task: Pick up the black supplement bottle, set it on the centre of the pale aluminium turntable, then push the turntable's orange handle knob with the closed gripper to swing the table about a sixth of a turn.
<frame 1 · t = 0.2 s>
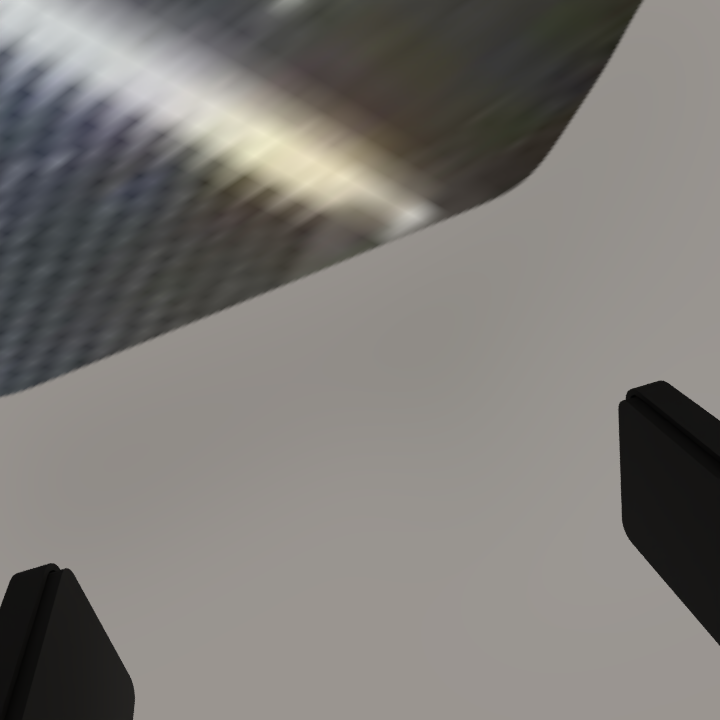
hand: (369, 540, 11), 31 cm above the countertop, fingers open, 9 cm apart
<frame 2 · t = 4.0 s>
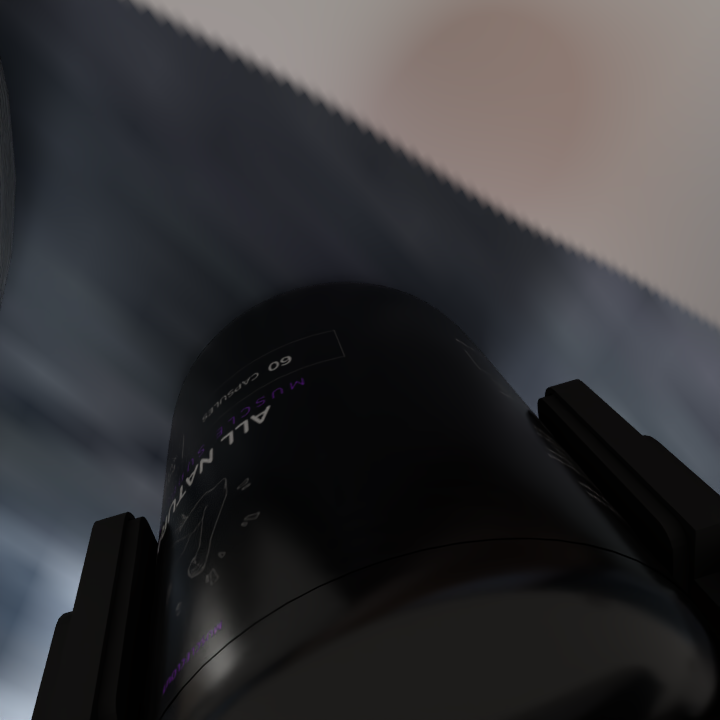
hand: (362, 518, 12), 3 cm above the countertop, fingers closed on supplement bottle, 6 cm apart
supplement bottle: (330, 419, 15), on the countertop, touching gripper
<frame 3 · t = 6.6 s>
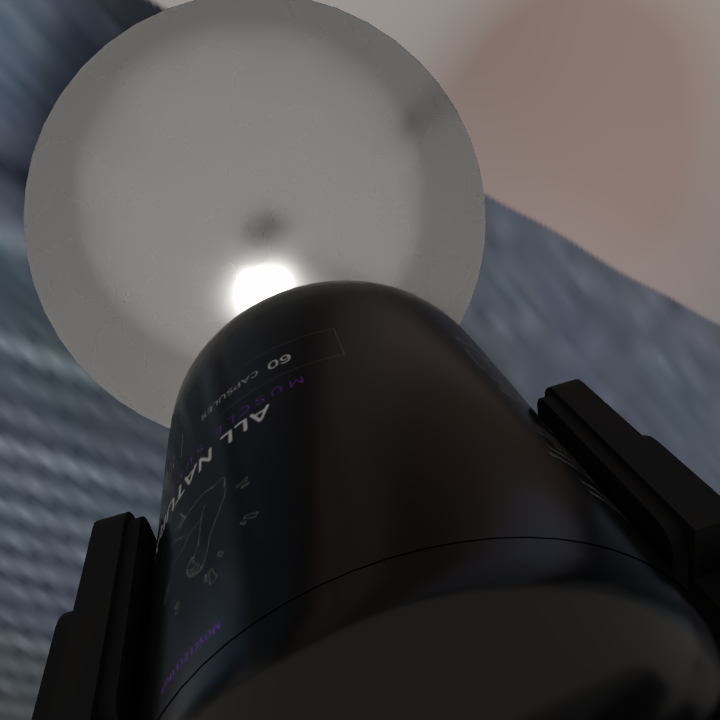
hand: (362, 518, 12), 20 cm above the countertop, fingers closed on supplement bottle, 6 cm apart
turntable: (288, 311, 25), point 5 cm above the countertop, hinge at 0.0°
supplement bottle: (330, 418, 15), point 16 cm above the countertop, touching gripper
when the fingers open (7 cm above the countertop, at t = 9.0 s): supplement bottle drops 1 cm, resting on turntable.
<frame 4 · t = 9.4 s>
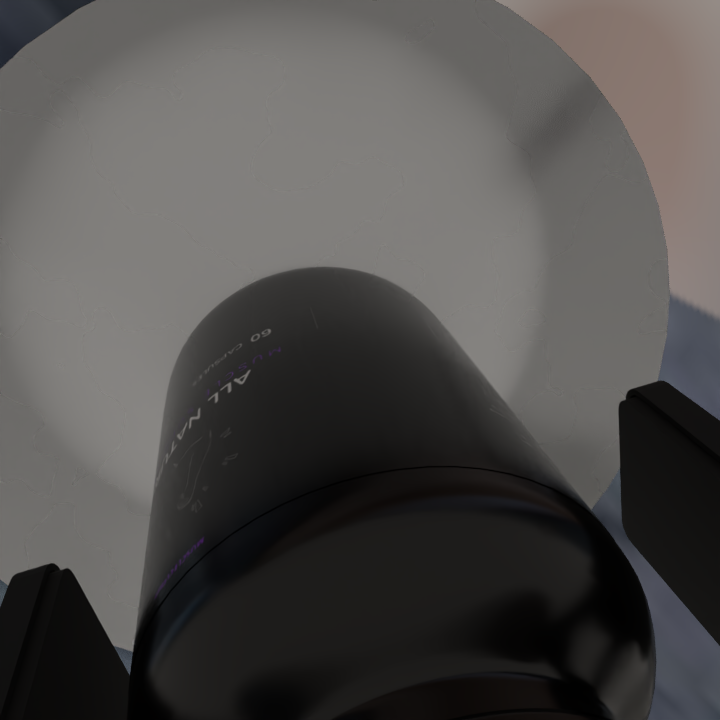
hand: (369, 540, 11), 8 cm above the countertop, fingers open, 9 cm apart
turntable: (355, 509, 15), point 5 cm above the countertop, hinge at 0.0°, touching supplement bottle
supplement bottle: (312, 395, 16), point 3 cm above the countertop, touching turntable
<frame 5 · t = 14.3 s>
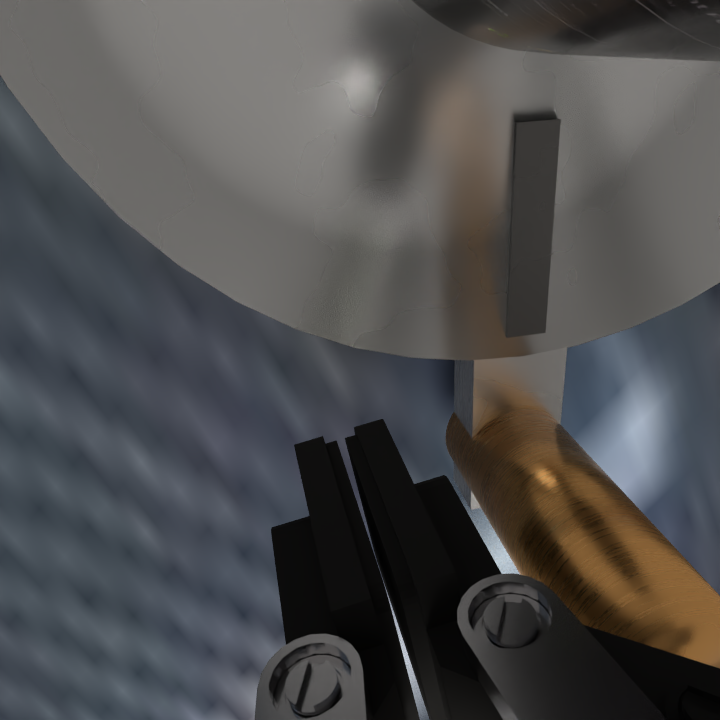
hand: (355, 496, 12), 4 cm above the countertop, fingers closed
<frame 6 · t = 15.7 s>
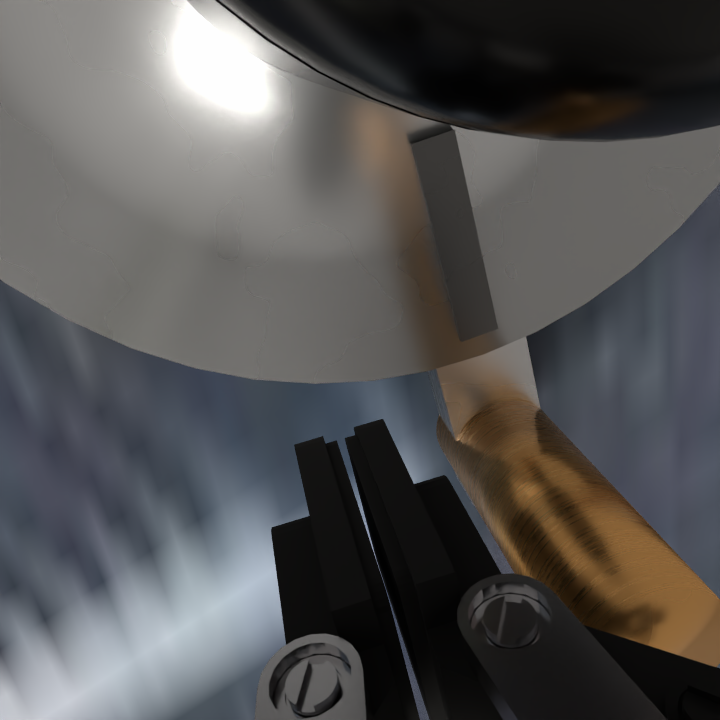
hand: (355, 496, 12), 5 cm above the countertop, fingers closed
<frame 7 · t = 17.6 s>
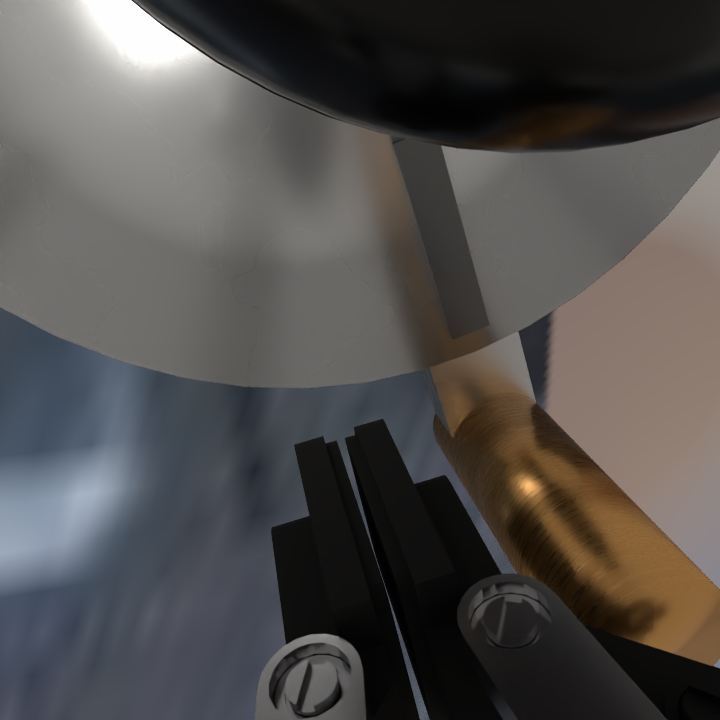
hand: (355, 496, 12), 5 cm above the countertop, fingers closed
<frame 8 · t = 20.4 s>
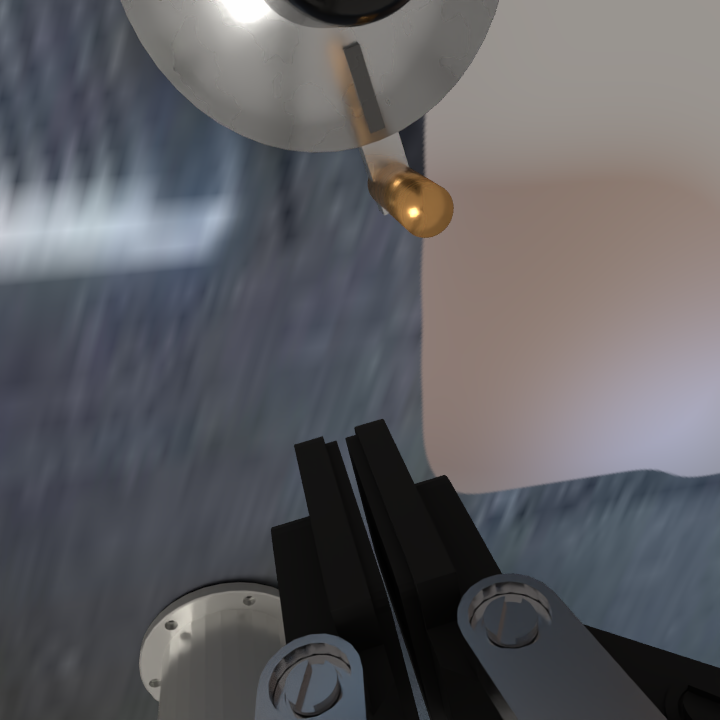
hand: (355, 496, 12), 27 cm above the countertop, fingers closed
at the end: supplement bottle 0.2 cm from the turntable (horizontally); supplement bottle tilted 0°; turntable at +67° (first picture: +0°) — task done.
